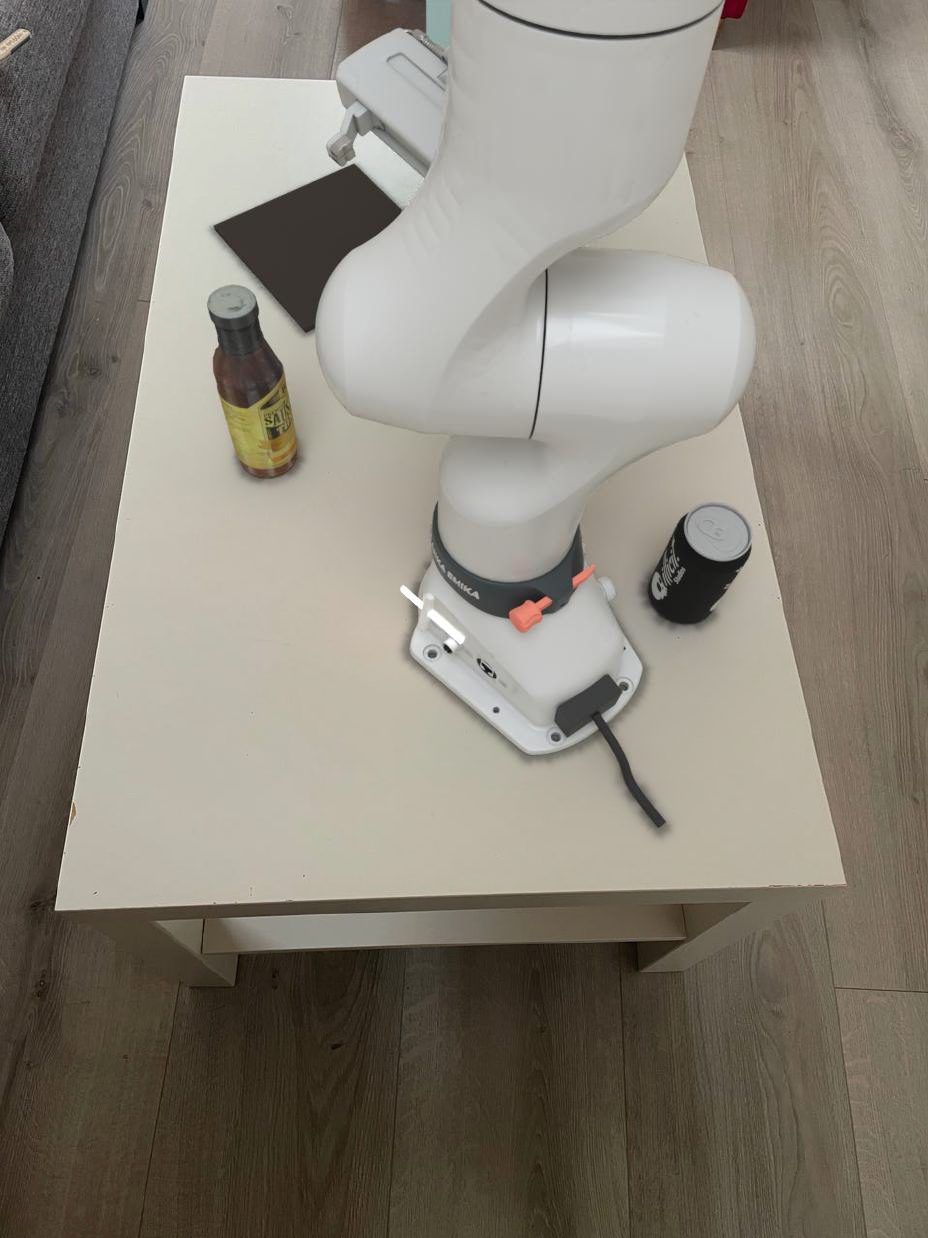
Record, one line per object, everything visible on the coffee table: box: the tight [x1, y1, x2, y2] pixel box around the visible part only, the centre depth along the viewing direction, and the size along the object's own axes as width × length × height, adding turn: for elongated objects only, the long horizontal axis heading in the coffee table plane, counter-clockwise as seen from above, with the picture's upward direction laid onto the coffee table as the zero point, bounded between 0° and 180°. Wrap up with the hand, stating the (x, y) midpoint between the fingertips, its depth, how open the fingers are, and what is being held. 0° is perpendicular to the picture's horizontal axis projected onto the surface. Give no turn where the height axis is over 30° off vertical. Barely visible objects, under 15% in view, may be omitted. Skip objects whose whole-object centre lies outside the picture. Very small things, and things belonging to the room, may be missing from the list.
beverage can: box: [647, 501, 754, 625], centre depth 76 cm, size 7×7×12 cm
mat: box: [213, 163, 402, 333], centre depth 101 cm, size 20×20×1 cm
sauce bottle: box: [206, 284, 299, 479], centre depth 78 cm, size 7×6×20 cm
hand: (369, 189), depth 71 cm, fingers open, 8 cm apart
